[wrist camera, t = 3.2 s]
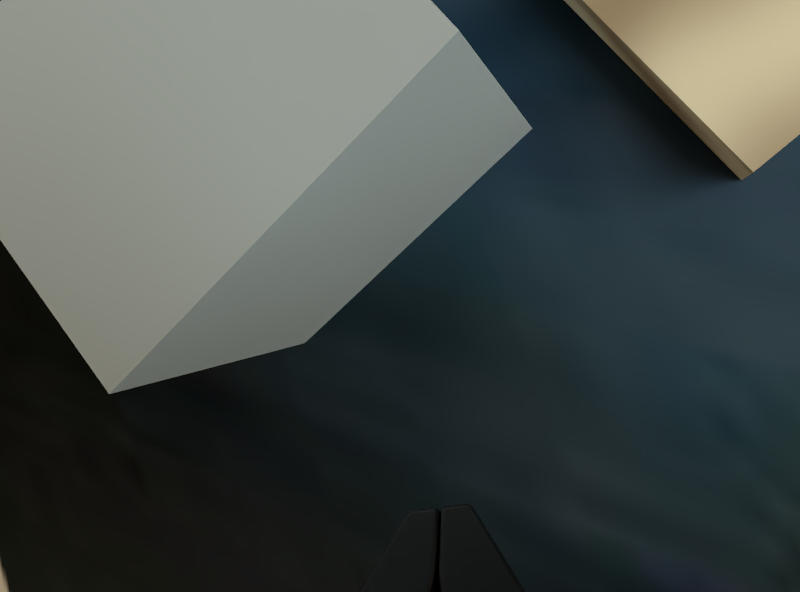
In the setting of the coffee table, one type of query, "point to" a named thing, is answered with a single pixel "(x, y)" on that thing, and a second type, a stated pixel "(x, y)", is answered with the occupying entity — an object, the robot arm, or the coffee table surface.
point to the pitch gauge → (713, 67)
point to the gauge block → (228, 164)
